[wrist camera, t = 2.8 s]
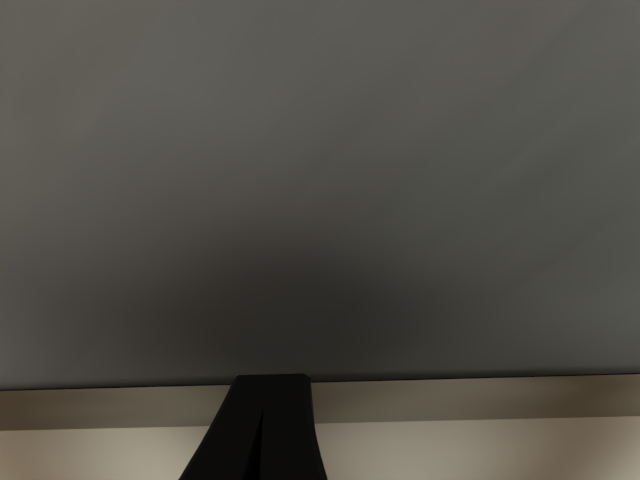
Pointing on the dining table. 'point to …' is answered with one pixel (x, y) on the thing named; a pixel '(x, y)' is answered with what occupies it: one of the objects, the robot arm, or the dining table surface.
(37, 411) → the board
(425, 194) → the dining table surface
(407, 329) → the dining table surface
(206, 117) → the dining table surface
